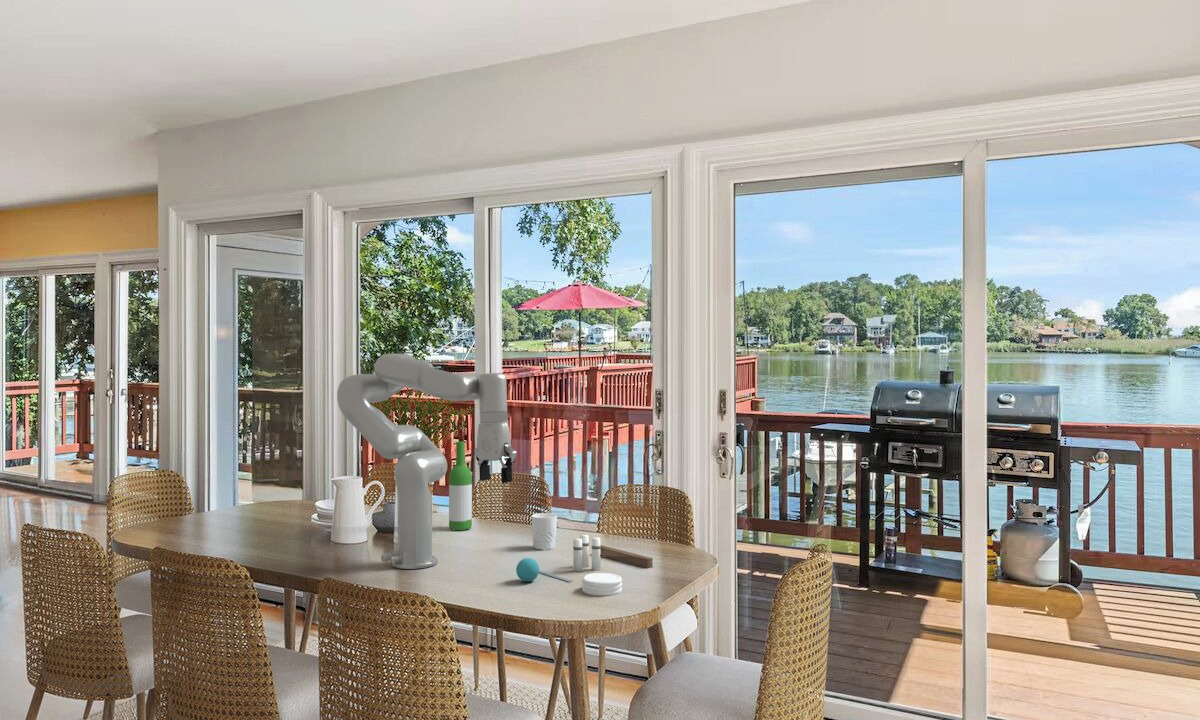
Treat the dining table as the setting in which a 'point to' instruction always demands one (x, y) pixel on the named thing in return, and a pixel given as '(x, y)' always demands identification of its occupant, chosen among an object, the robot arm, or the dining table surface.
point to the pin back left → (585, 550)
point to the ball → (527, 569)
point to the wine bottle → (460, 492)
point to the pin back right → (596, 553)
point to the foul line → (555, 576)
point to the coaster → (602, 584)
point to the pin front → (577, 554)
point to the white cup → (544, 530)
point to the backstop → (626, 557)
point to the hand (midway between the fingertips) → (495, 481)
